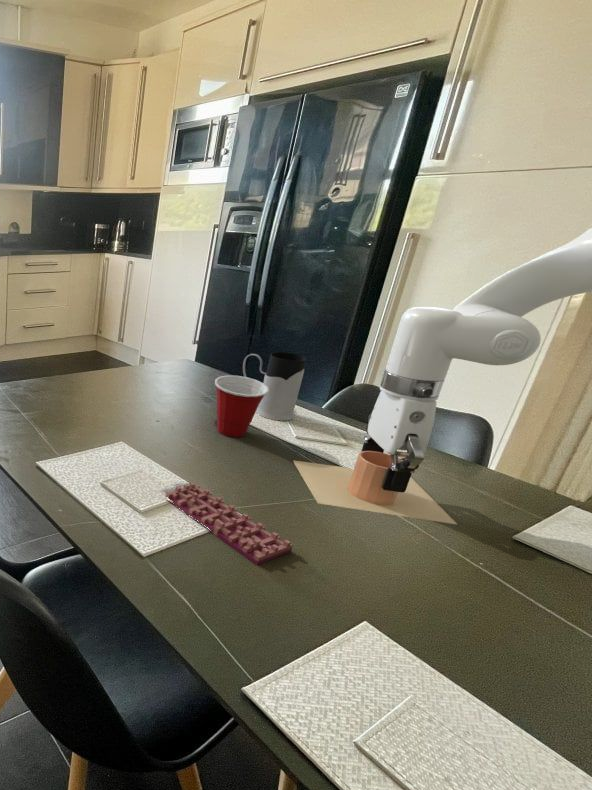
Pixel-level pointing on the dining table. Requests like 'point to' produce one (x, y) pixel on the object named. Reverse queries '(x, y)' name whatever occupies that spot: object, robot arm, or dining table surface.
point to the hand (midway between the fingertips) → (380, 476)
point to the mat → (333, 490)
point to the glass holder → (280, 384)
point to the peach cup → (371, 478)
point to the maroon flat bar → (229, 524)
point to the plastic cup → (237, 403)
